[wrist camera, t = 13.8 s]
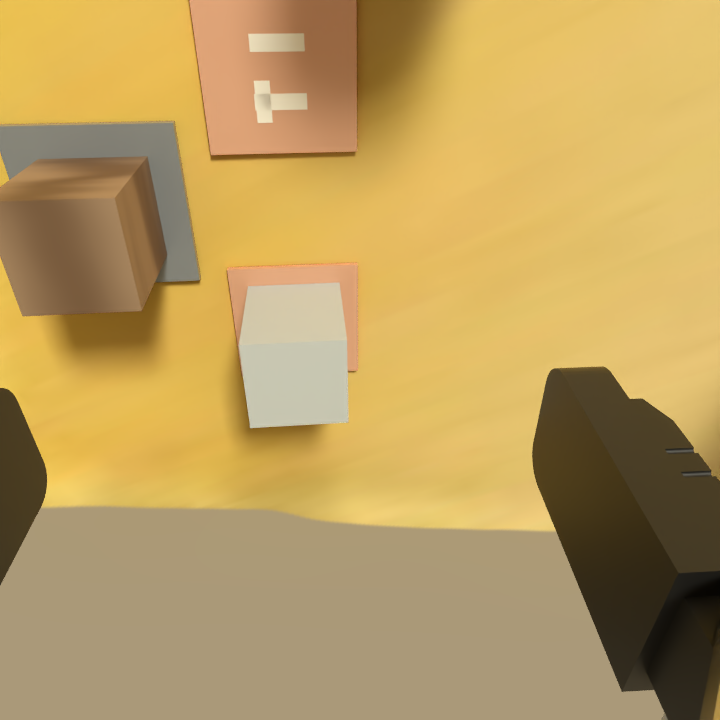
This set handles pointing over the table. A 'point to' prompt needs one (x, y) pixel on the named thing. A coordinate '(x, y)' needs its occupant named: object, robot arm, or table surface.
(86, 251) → the walnut block
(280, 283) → the code tile
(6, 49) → the table surface
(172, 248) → the slate coaster
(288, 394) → the white block
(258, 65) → the code tile
